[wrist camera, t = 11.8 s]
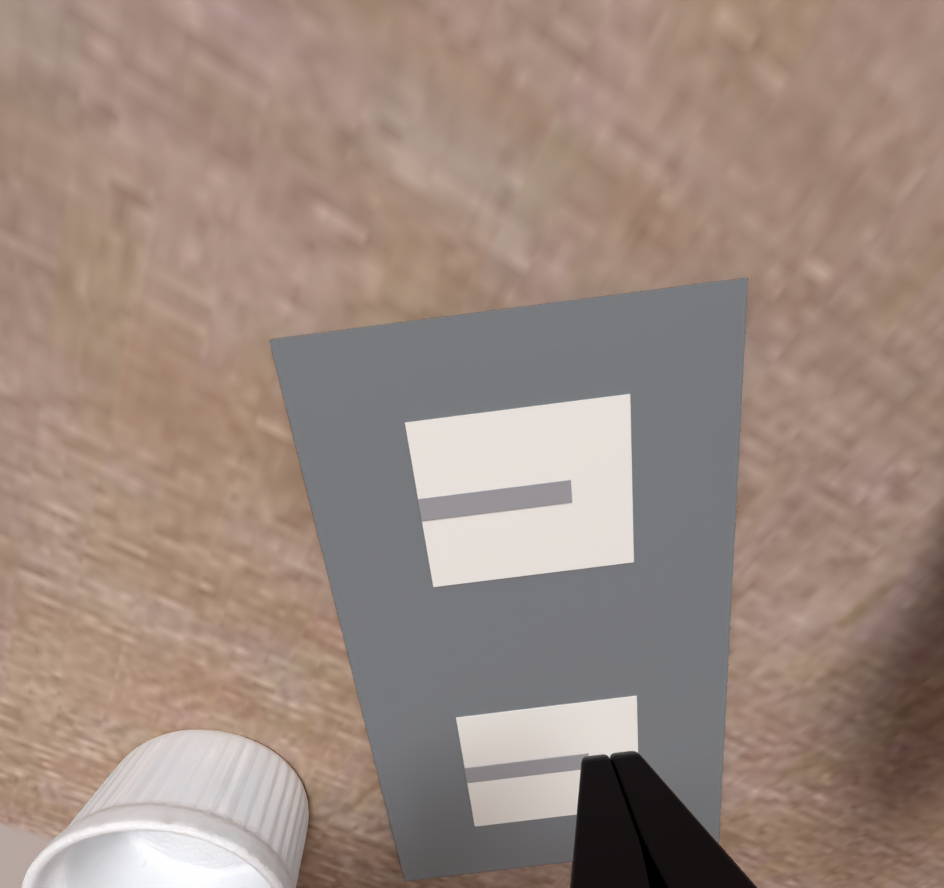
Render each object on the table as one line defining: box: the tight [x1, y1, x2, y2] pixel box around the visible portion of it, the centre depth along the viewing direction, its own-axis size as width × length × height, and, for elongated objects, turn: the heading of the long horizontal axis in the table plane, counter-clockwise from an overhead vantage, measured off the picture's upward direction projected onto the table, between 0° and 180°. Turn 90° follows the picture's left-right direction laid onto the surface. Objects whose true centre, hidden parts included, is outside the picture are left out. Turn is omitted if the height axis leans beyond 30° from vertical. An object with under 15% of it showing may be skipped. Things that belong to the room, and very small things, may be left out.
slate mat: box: [269, 278, 748, 881], centre depth 19 cm, size 14×24×1 cm, turn 7°
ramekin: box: [21, 729, 309, 888], centre depth 19 cm, size 9×9×4 cm
